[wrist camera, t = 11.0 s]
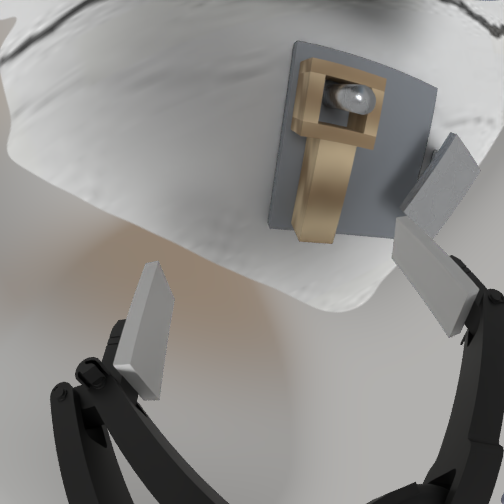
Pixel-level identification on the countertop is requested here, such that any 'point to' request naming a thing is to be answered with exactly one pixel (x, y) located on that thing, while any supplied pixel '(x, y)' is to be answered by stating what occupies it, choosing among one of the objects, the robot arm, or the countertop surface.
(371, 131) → the link
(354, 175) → the base plate
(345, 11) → the countertop surface
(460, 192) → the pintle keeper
